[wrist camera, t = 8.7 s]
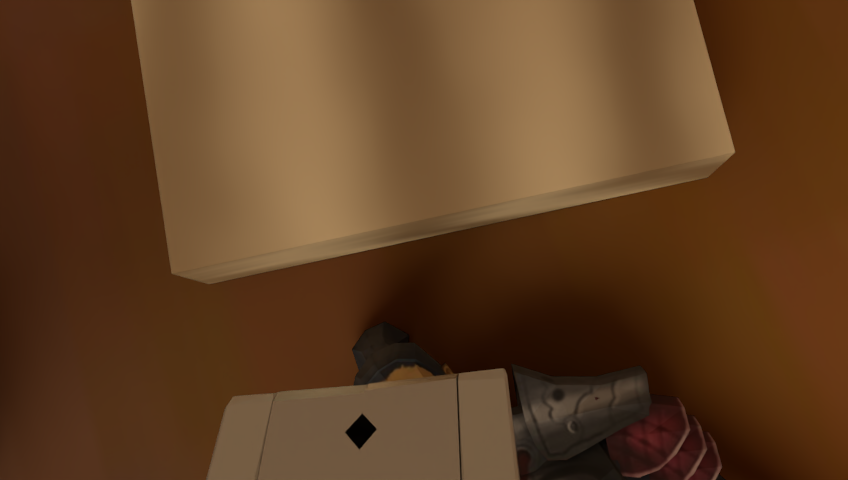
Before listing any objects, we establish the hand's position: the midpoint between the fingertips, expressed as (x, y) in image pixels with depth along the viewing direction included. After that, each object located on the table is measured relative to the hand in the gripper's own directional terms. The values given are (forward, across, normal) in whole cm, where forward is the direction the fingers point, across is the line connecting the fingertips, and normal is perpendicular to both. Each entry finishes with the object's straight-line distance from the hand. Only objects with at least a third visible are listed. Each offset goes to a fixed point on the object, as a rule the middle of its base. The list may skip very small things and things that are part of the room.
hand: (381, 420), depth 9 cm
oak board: (+18, 0, +4) cm, 19 cm away
